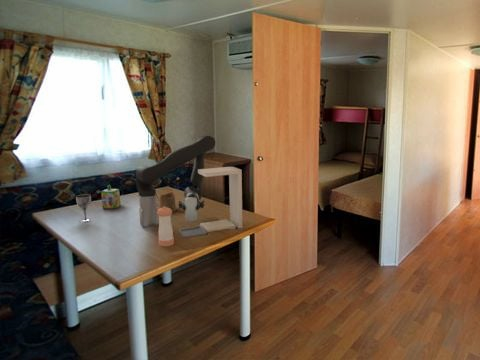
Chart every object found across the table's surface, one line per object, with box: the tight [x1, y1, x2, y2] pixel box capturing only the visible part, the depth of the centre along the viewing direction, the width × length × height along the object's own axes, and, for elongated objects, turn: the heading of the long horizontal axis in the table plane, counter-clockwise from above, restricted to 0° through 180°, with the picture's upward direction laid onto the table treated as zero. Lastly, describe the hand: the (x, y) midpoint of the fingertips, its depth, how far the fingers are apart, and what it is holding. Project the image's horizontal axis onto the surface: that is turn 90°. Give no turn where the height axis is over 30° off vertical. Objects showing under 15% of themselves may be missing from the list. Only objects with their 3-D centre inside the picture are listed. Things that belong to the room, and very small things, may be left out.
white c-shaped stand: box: [198, 166, 243, 233], centre depth 190 cm, size 20×12×32 cm, turn 115°
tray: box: [177, 225, 209, 239], centre depth 183 cm, size 12×12×2 cm
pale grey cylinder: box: [184, 197, 198, 222], centre depth 181 cm, size 6×6×11 cm
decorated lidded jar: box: [100, 184, 122, 209], centre depth 236 cm, size 9×9×15 cm
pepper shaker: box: [157, 206, 175, 247], centre depth 167 cm, size 7×7×19 cm
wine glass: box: [75, 193, 92, 221], centre depth 207 cm, size 8×8×15 cm
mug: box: [156, 191, 178, 212], centre depth 226 cm, size 12×18×12 cm, turn 132°
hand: (190, 208), depth 178 cm, fingers closed on pale grey cylinder, 6 cm apart
